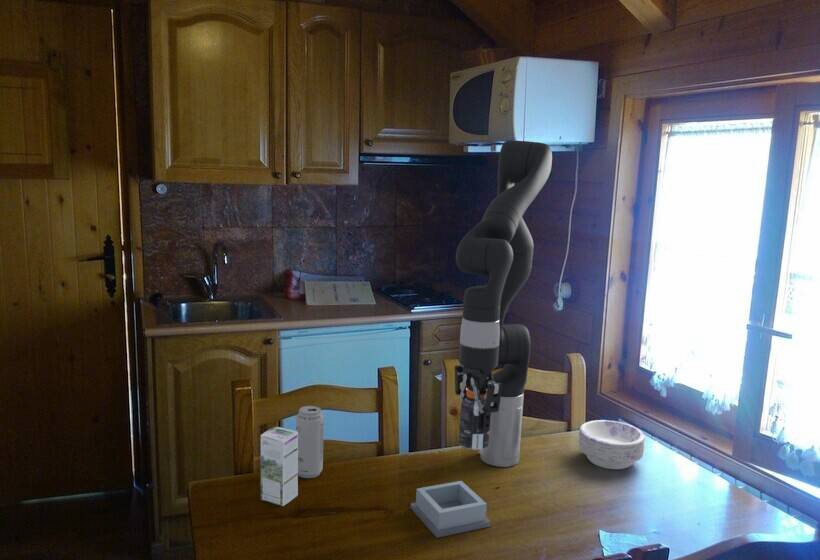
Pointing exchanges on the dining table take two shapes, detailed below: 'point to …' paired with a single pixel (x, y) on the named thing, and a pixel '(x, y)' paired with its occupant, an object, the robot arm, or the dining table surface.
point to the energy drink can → (310, 441)
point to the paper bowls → (611, 443)
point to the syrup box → (279, 465)
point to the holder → (450, 509)
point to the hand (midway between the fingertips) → (474, 424)
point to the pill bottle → (471, 424)
